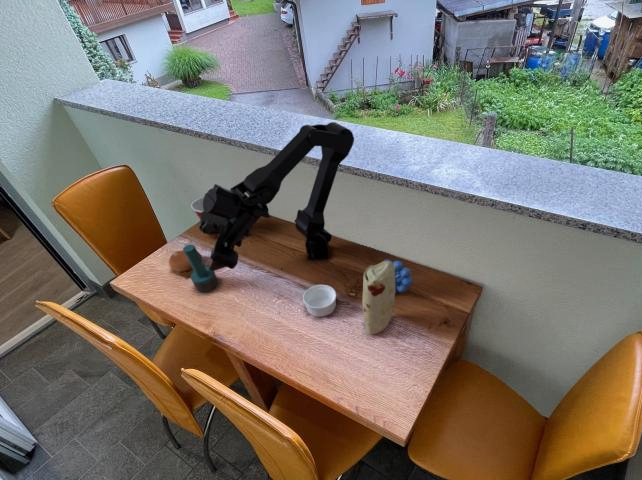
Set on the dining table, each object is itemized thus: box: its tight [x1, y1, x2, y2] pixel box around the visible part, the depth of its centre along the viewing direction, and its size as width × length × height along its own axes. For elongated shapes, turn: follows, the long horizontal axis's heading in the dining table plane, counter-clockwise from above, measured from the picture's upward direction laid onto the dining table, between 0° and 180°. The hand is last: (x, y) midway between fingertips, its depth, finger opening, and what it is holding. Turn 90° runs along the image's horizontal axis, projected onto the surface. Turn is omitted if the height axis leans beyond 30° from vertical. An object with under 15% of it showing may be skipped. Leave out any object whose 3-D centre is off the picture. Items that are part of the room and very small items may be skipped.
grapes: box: [382, 258, 414, 294], centre depth 95 cm, size 12×7×12 cm, turn 59°
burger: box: [168, 249, 204, 278], centre depth 106 cm, size 10×9×5 cm
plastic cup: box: [190, 196, 218, 239], centre depth 115 cm, size 11×11×12 cm
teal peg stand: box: [182, 244, 220, 294], centre depth 97 cm, size 6×6×14 cm
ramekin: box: [302, 284, 337, 318], centre depth 94 cm, size 9×9×4 cm
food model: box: [361, 260, 396, 336], centre depth 83 cm, size 10×7×20 cm
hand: (213, 259), depth 96 cm, fingers open, 9 cm apart
